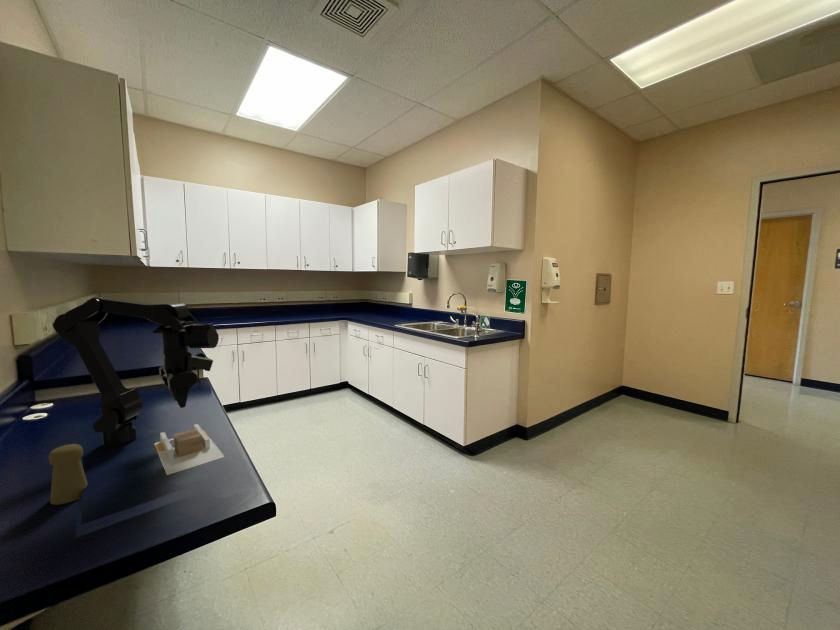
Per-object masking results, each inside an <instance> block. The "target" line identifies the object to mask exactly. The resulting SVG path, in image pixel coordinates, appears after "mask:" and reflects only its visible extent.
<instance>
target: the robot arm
mask: <svg viewBox="0 0 840 630" xmlns="http://www.w3.org/2000/svg"><path fill="white" fill-rule="evenodd" d="M108 314H112V315H120V316H127V317H135V318H142V319H146V320H149V321H150V322H152V323H155V324H159V325H158V326H157V327H156V328H155V329H154V330H152V334H161V344H162V352H161V356H162V358H163V364H161V366H160V367H158V371H159V375H160V376H161V377H160V378H161V380H162V381H163V382H164V385H165V386H166V388H167V390H168V391H169V393H170V395H171V396H172V398H173V400H174V401H176V403H177V405H178V407H179V408H180V409H184V408H185V407H186V405H187V401H188V398H189V397H188V396H189V392H190V390H191V388H192V387H193V386H195V385H196V384H197V383H199V375H198V374H196V373H195V372H193V371H194V369H196V370H203V371H205V372H211V369H212V366H213V363H214V360H213V359H211V358H209V357H206V354H205V353H202V352H197V353H196V354H195V355H194V354H193V355H192V352H190V351H189V349H191V350H192V349H194V350H195V349H214V348H216V347H217V345H218V343H219V339H220V337H219V334H218V331H217V329H216V328H215V327H214V323H204V324H200V323H199V322H198V320H197V319H196V318H195V317H194V316H193V315H192V313H191V312H190V309H189V307H188V306H187V305H186V304H185V303H182V302H169V303H167V302H166V303H149V302H141V301H133V300H126V299H120V298H112V297H108V296H99V297H98V296H95V297H91V298H89V299H88V300H86V301H85V302H84V303H82V304H80V305H78V306H75V307H74V308H72V309H70V310H68V311H66V312H65V313H62V314H59V315H58V316H57V317H56V318H55V319H54V322H52V327H53V329H54V331H55V333H56V334H57V335H58V336H59V337H60V339H61V340H62V341H63V342H65V343H67V344H69V345H70V346H72V347H73V348H74V349H75V350H76V352H77V354H78V355H79V357H80V359H81V361H82V363H83V365H84V366H85V369H86V370H87V372H88V373H89V375H90V378H91V379H92V381H93V383H94V384H95V386H96V388H97V389H98V392H99V394H100V396H101V398H100V405H99V409H100V412H101V416H100V417H99V418H98V419H97V420H96V421H95V422H94V423H93V424H92V428H93V430H94V432H95V433H102V441H103V442H102V443H103V448H104V449H106V448H114V447H119V446H124V445H125V444H129V443H130V442H133V441H136V440H137V431H136V427H135V425H133V422H134V421H136V420H138V418H139V415H140V413H141V412H142V410H143V407H144V406H143V403H142V402H143V401H144V399H143V398H141V396H140V394H139V391H138V390H137V389H136V388H133V389H129V388H127V387H126V386H124V385H123V382H122V380H121V378H120V377H119V375H118V373H117V372H116V369H115V368H114V366H113V364H112V362H111V361H110V358H109V356H108V355H107V353H106V351H105V349H104V347H103V345H102V343H101V341H100V336H101V328H100V327H101V326H100V323H101V322H102V321H104V320H105V319H106V317H107V316H108Z"/></svg>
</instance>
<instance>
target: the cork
mask: <svg viewBox="0 0 840 630" xmlns="http://www.w3.org/2000/svg"><path fill="white" fill-rule="evenodd" d="M83 455H84V449H83V446H82V445H80V444H77V443H71V444H66V445H65V444H64V445H61V446H59V447H56V448H54V449H52V450H51V451H50V452H49V454H48V457H47V458H48V459H47V460H48V463H49V465H51V466H52V475H51V485H50V486H51V487H50V500H49V503H50V504H51V505H56V506H58V505H65V504H68V503H72V502H74V501H77V500H79V499H81V498H83V493H84V492H83V490H84V489H85V488H87V487H88V485H89V483H88V480H87V477H86V474H85V471H84V466H83V464H82V460H81V458H82V456H83Z"/></svg>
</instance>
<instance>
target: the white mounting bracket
mask: <svg viewBox="0 0 840 630" xmlns="http://www.w3.org/2000/svg"><path fill="white" fill-rule="evenodd" d="M194 429H196V431H197V432H198V433H199V435H200V437H201V451H198V452H195V453H191V454H188V455H184V456H181V457H178V455H177V453H176V451H175V449H174V447H173V445H172V444H171V442H170V441H174V437H173V438H168V436H167V434H166V432H165V431H162V432H160V433H159V435H160V436H159V437H160V438H159V439H160V441H157V442H155V443H153V444H154V447H155V449H156V452H157V454H158V456H159V459H160V462H161V465H162V466H163V469H164V471H165V474H166V476H169V475H172V474H175V473H178V472H182V471H185V470H188V469H192V468H195V467H197V466H200V465H204V464H207V463H210V462H213V461H216V460H219V459H223V458H225V455H224V454H223V453H222V451H221V450H220V448H219V447H217V446H218V445H216V443H215V442H214V441H213V440H212V439H211V437H209V435H208V434H207V432H206V431H205V430H203V428H202V427H201V426H200V425H199V424H198V423H196V424H193V430H194Z"/></svg>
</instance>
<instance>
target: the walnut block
mask: <svg viewBox="0 0 840 630" xmlns="http://www.w3.org/2000/svg"><path fill="white" fill-rule="evenodd" d="M173 438H174V440H173V448H174V449H175V451H176V453H177V455H178V457H181V456H184V455H188V454H191V453H195V452H198V451H201V437H200V435H199V433H198V432H197V431H196V429H194V428H193V429H190V430H186V431H183V432H179V433H175V434H173Z"/></svg>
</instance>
